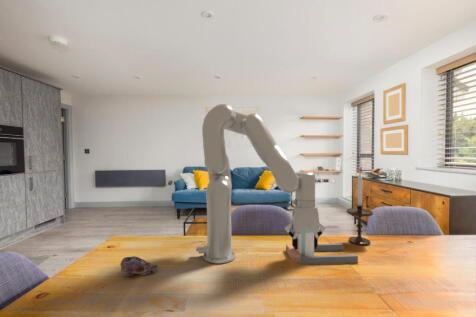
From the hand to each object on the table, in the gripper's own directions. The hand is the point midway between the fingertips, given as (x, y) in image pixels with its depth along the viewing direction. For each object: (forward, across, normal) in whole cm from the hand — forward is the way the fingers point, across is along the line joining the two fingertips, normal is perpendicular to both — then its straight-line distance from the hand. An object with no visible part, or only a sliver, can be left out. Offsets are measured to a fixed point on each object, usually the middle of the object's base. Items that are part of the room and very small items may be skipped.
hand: (304, 247), depth 98 cm
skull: (+4, -61, -10) cm, 62 cm away
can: (+3, 0, 0) cm, 3 cm away
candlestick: (+4, +30, +14) cm, 33 cm away
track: (+4, +6, 0) cm, 7 cm away
